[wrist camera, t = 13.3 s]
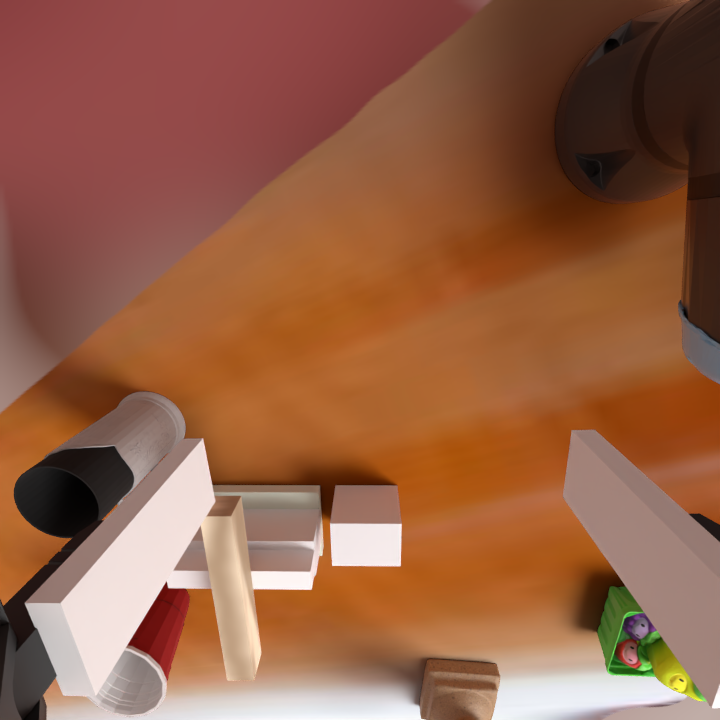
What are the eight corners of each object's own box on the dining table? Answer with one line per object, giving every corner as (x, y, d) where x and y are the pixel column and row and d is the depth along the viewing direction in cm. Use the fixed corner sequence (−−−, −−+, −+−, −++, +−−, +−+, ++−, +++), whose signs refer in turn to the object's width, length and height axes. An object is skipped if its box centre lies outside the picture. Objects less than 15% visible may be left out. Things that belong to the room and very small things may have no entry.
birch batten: (241, 495, 39) (230, 516, 36) (261, 652, 45) (254, 680, 43) (211, 495, 39) (199, 516, 36) (236, 652, 45) (227, 680, 43)
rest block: (397, 485, 50) (401, 523, 43) (396, 523, 51) (400, 566, 45) (335, 485, 50) (330, 523, 43) (337, 523, 52) (332, 565, 45)
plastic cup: (179, 556, 54) (129, 641, 43) (220, 609, 57) (183, 702, 45) (117, 581, 56) (52, 669, 44) (160, 631, 59) (109, 726, 47)
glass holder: (165, 382, 46) (73, 447, 32) (216, 478, 50) (154, 575, 36) (102, 403, 47) (-15, 475, 33) (157, 496, 51) (74, 597, 37)
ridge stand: (320, 485, 50) (308, 543, 40) (323, 547, 53) (313, 615, 43) (198, 484, 50) (158, 542, 41) (208, 546, 53) (173, 613, 44)
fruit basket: (602, 578, 54) (660, 663, 43) (666, 580, 53) (741, 666, 43) (585, 637, 57) (636, 730, 46) (646, 640, 57) (710, 734, 46)
